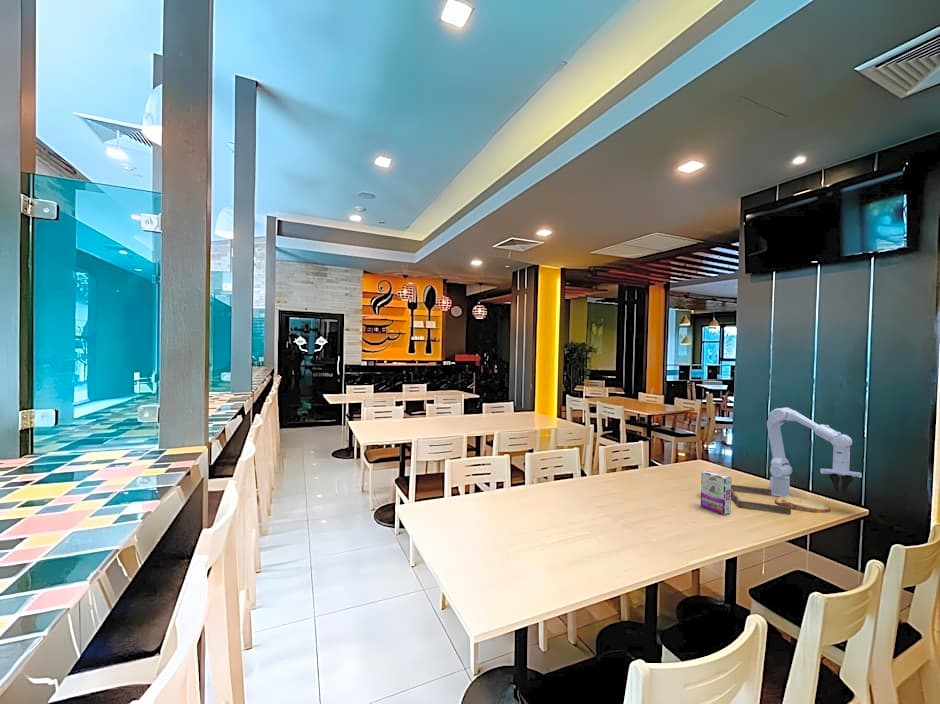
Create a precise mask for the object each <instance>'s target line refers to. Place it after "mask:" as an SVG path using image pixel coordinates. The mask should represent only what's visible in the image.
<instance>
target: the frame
mask: <svg viewBox="0 0 940 704" xmlns="http://www.w3.org/2000/svg"><path fill="white" fill-rule="evenodd" d="M735 492H737V493H745V494H753V495H761V496H770V497H771V496H772V494H771V489H770V488H763V487H762V488H761V487H757V486H756V487H755V486H747V485H736V484H731V500H732V501H733V502H734V503H735V504H736V506H737V507H738V508H741V509H747V510H753V511H762V512H768V513H777V514H783V515H791V513H792V509H791V507H785V506H779V505H777V504H771V503H770V504H768V503H763V502H762V503H761V502H753V501H745V500H741V499H740V498H739V496H738V495H737V494H736V493H735Z"/></svg>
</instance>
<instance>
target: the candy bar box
mask: <svg viewBox="0 0 940 704" xmlns="http://www.w3.org/2000/svg"><path fill="white" fill-rule="evenodd" d="M700 477H701V481H700V482H701V483H700V507H701V508H703V509H706V510H710V511H711V512H714V513H717V514H720V515H722V516H726V515H730V514H731V503H732V502H731V500H732V498H731V485H732V477H731V476H727V475H725V474H721V473H718V472H715V471H710V470H705V471H701V476H700Z"/></svg>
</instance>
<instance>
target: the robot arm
mask: <svg viewBox="0 0 940 704" xmlns="http://www.w3.org/2000/svg"><path fill="white" fill-rule="evenodd" d="M789 421H790V422H797V423H799V424H801V425H803V426H805V427H807V428H809V429H811V430H813V432H814V435H816V436H818V437H820V438H821V439H824V440H825V441H827V442H829V443H831V445H832V447H833V450H832V468H820V469H819V472H820V473H821V474H823V475H824V474H825V475H828V476H829V478H830V480H831V483H832V486H833V490H834V491H835V492H838V491H839V486H840V485H839V483H840V479H841V492H844V493H846V492H847V490H848V487H849V485H850V484H851V483H852V482H853V480H854V478H855V477H856V478H863V475H862V472H858V471H851V470H850V462H851V451H850V450H851V446H852V445H853V439H852V438H851V437H850V436H849V435H848V434H844V433H843V434H842V432H840V431H837V430H835V429H833V428H831V427H830V425H829V424H823V423H822V424H818V423H817V422H815V421H813V420H811V419H810V418H808V417H806V416H805V415H803V414H801V413H800V412H798V411H797V410H796V409H795V410H794V409H792V408H791V407H780V408H778V407H776V408H774V409H773V410H771V411H770V412H769V417H768V419H767V422H766V427H767V432H768V434H767V435H768V439H769V444H770V450H771V455H772V459H771V461H770V467H769V473H770V474H771V476H770V478H769V489H771V496H774V497H780V496H789V497H793V496H792V495H791V494H790V488H791V487H790V486H791V485H790V483H791V482H790V481H791V480H790V479H791V478H790V477H791V476H790V475H792V473H793V468H792V466H791V465H790V462H789V459H787V457H786V452H785V447H784V441H783V436H782V429H781V426H782V425H784V423H786V422H789Z"/></svg>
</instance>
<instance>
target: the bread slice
mask: <svg viewBox="0 0 940 704" xmlns="http://www.w3.org/2000/svg"><path fill="white" fill-rule="evenodd" d="M774 505H778V506H785V507H791V510H795V511H800V512H807V513H815V514H817V513H818V514H827V512H828V513H830V512H832V509H831V507H830V506H829V505H828V504H826V503H825V502H822V501H816V500H813V499H807V498H802V497H801V498H800V497H794V496H792V497H789V496H777V497H776V498H775V500H774Z"/></svg>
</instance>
